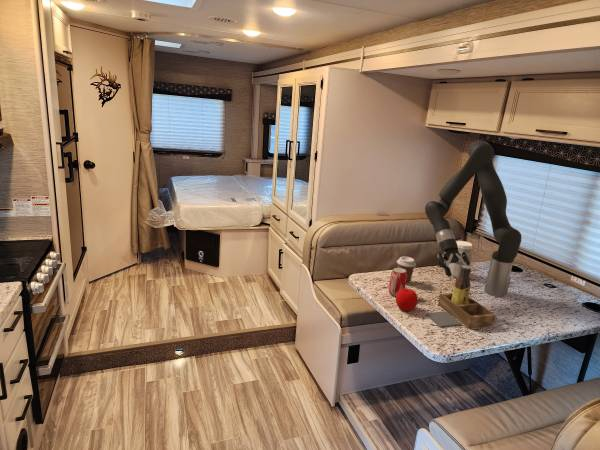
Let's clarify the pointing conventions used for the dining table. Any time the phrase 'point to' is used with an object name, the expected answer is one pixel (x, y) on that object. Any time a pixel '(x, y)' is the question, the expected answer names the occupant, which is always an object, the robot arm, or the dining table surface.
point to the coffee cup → (407, 266)
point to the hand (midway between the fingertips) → (458, 275)
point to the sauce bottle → (462, 286)
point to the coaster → (443, 319)
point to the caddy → (467, 312)
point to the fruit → (406, 299)
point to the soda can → (397, 280)
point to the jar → (456, 268)
